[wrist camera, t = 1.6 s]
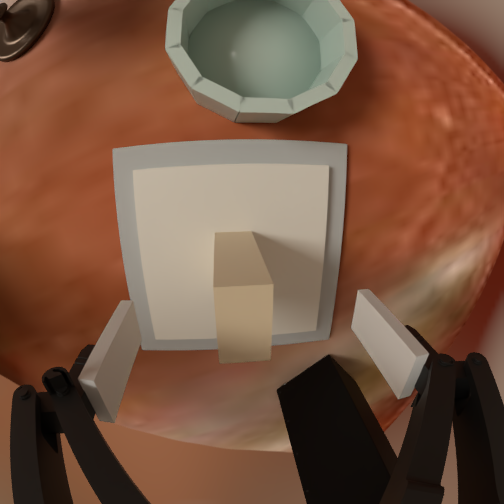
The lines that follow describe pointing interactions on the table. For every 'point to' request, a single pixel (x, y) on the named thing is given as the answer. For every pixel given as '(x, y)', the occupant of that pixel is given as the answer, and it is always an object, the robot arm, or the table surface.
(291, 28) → the bowl
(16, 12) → the candlestick
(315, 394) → the black block
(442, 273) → the table surface
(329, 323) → the mat
